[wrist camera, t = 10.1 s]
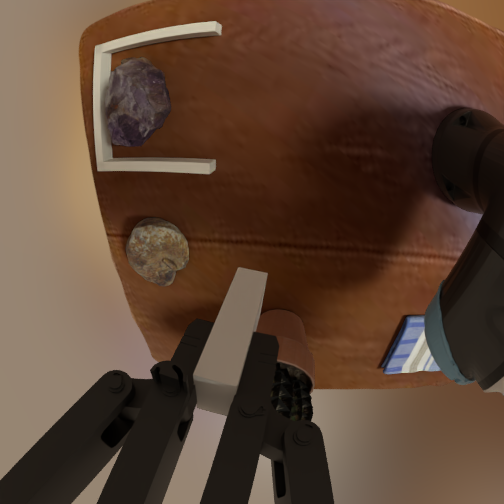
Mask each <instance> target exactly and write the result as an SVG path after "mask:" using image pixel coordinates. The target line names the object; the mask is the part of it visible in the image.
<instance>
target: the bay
mask: <svg viewBox="0 0 504 504" xmlns="http://www.w3.org/2000/svg"><path fill="white" fill-rule="evenodd" d="M221 29H222V26H221V25H220V24H219V23H218V22H216V21H212V22H202V23H193V24H186V25H179V26H173V27H167V28H162V29H157V30H152V31H147V32H143V33H139V34H135V35H131V36H127V37H124V38H120V39H117V40H113V41H110V42H107V43H104V44H101V45H98V46H95V55H94V74H93V116H94V136H95V150H96V161H97V170H98V171H154V172H180V173H198V174H211V173H212V172H213V171H215V170H216V160H215V159H196V158H154V157H144V158H113V157H112V144H111V137H110V131H109V129H108V126H107V125H108V121H107V118H106V112H105V105H104V104H105V98H106V91H107V89H109V77H110V70H111V53H115V52H119V51H122V50H126V49H131V48H135V47H139V46H144V45H149V44H154V43H159V42H165V41H171V40H178V39H185V38H194V37H204V36H217V35H221Z"/></svg>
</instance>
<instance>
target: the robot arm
mask: <svg viewBox="0 0 504 504" xmlns="http://www.w3.org/2000/svg"><path fill="white" fill-rule="evenodd" d="M432 165H433V171H434V175H435V178H436V181H437V183H438V185H439V187H440V189H441V190H442V192H443V193H444V195H445V196H446V197H447V198H448V199H449V200H451V201H452V202H453V203H454V204H455V205H457V206H458V207H460V208H461V209H463V210H466V211H469V212H473V213H478V214H483V216H482V218H481V220H480V222H479V224H478V226H477V228H476V229H475V231H474V233H473V235H472V237H471V239H470V240H469V242H468V244H467V246H466V247H465V249H464V251H463V253H462V254H461V256H460V257H459V259H458V261H457V262H456V264H455V266H454V267H453V269H452V270H451V272H450V273H449V275H448V276H447V278H446V279H445V280H443V281H442V282H441V284H440V286H439V289H438V292H437V293H436V295H435V296H434V298H433V299H432V301H431V302H430V304H429V305H428V307H427V310H426V312H425V316H424V325H425V329H424V332H425V337H426V341H427V345H428V347H429V350H430V352H431V355H432V357H433V358H434V360H435V362H436V364H437V365H438V367H439V368H440V369H441V371H442V372H443V373H444V374H445V375H446V376H447V377H448V378H449V379H450V380H455V382H456V383H458V384H460V385H466V384H469V383H472V382H474V381H475V380H476V381H477V382H478V384H479V385H480V387H481V388H482V389H483V391H484V392H501V393H502V394H503V396H504V125H503V124H502V123H500V122H499V121H498V120H497V119H496V118H494V117H493V116H492V115H490V114H488V113H486V112H484V111H481V110H477V109H471V108H463V109H459V110H456V111H454V112H452V113H451V114H449V115H448V116H447V117H446V118H445V119H444V120H443V122H442V123H441V124H440V126H439V128H438V130H437V132H436V135H435V138H434V142H433V148H432ZM267 275H268V273H265V272H260V271H255V270H250V269H245V268H241V267H238V269H237V272H236V274H235V276H234V279H233V281H232V283H231V286H230V288H229V290H228V293H227V295H226V297H225V300H224V302H223V305H222V307H221V309H220V312H219V314H218V316H217V319H216V321H215V323H213V322H209V321H205V320H201V319H196V320H195V321H193V322H192V323H191V324H190V325H188V327H187V329H186V331H185V333H184V336H183V337H182V339H181V341H180V344H179V345H178V347H177V349H176V351H175V353H174V355H173V357H172V359H171V361H162V362H159V363H157V364H155V365H154V366H153V367H152V369H151V370H150V371H151V374H152V377H153V379H134V378H130V376H129V375H128V374H127V373H125V372H123V371H120V370H113V371H109V372H107V373H106V374H104V375H103V376H102V377H101V378H100V379H99V380H98V381H97V382H96V383H95V384H94V385H93V386H92V387H91V388H90V389H89V390H88V391H87V392H86V393H85V394H84V395H83V396H82V397H81V398H80V399H79V400H78V401H77V402H76V403H75V404H74V405H73V406H72V407H71V408H70V409H69V410H68V411H67V412H66V413H65V414H64V415H63V416H62V417H61V418H60V419H59V420H58V421H57V422H56V423H55V424H54V425H53V426H52V427H51V428H50V429H49V430H48V432H46V433H45V435H44V436H43V437H42V438H41V439H39V441H38V442H37V443H36V444H35V445H34V446H33V447H32V448H31V449H30V450H29V451H28V452H27V453H26V454H25V455H24V456H23V457H22V458H21V459H20V460H19V461H18V463H16V465H14V467H13V468H12V469H11V470H10V471H9V472H8V473H7V474H6V475H5V476H4V477H3V478H2V479H1V480H0V504H71V503H72V502H73V501H74V500H75V499H76V497H78V495H79V494H80V493H81V492H82V491H83V490H84V489H85V488H86V487H87V485H88V484H89V483H90V482H91V481H92V480H93V479H94V478H95V477H96V475H97V474H98V473H99V472H100V471H101V470H102V469H103V467H104V466H105V465H106V464H107V463H108V462H109V461H110V460H111V458H112V457H113V456H114V455H115V454H116V452H118V450H119V449H120V448H121V447H122V446H123V447H122V449H121V451H120V453H119V455H118V457H117V460H116V462H115V464H114V466H113V468H112V471H111V473H110V475H109V477H108V479H107V482H106V484H105V486H104V488H103V491H102V493H101V495H100V497H99V500H98V502H97V504H162V502H163V499H164V497H165V494H166V491H167V488H168V485H169V483H170V480H171V478H172V475H173V472H174V470H175V467H176V464H177V461H178V459H179V456H180V453H181V451H182V448H183V445H184V443H185V440H186V437H187V435H188V432H189V429H190V426H191V423H192V421H193V411H194V409H195V406H196V404H197V408H199V409H203V410H206V411H210V412H214V413H218V414H222V415H225V416H227V419H226V422H225V425H224V429H223V432H222V435H221V438H220V442H219V445H218V449H217V451H216V455H215V458H214V461H213V464H212V467H211V471H210V474H209V477H208V480H207V483H206V486H205V489H204V492H203V495H202V499H201V502H200V504H248V500H249V497H250V493H251V489H252V485H253V481H254V477H255V473H256V468H257V464H258V460H259V455H260V454H261V455H263V456H265V457H267V458H269V459H271V466H272V477H273V489H274V501H275V504H334V499H333V493H332V487H331V481H330V475H329V469H328V463H327V458H326V452H325V446H324V441H323V436H322V432H321V430H320V428H319V427H318V426H317V425H316V424H315V423H313V422H311V421H309V420H298V421H293V420H291V419H289V418H287V417H285V416H283V415H281V414H280V413H278V412H277V411H276V410H275V409H274V407H273V405H272V403H271V391H272V385H273V380H274V375H275V369H276V363H277V357H278V352H279V343H278V340H277V337H276V336H274V335H269V334H264V333H259V332H256V329H257V325H258V321H259V317H260V313H261V308H262V302H263V297H264V291H265V286H266V280H267Z"/></svg>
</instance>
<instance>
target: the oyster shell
mask: <svg viewBox="0 0 504 504" xmlns="http://www.w3.org/2000/svg"><path fill="white" fill-rule="evenodd" d="M126 254H127V257H128V260H129V264H130V266H132V268H133V269H134V270H135V271H136V272H137V273H138V274H140V275H141V276H142V277H143V278H144V279H145V280H147V281H150V282H154V283H156V284H158V285H159V286H168V285H170V284H171V283H172V282H173V281H174V278H175V275H176V271H177V270H180V269H183V268H185V267H186V264H187V263H188V260H189V248H188V243H187V241H186V238H185V237H184V235H183V234H182V233H181V232H180V231H179V229H178V228H177V227H176V226H175V225H173V224H171V223H170V222H168V221H165V220H163V219H161V218H158V217H157V218H156V217H152V218H146V219H143V220H142V221H140V222H139V223H138V224H137V225H136V226H135V227H134V230H133V231H132V233H131V235H130V237H129V239H128V241H127V244H126Z"/></svg>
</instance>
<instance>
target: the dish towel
mask: <svg viewBox="0 0 504 504" xmlns="http://www.w3.org/2000/svg"><path fill="white" fill-rule="evenodd" d="M424 316H425V315H411V316H407V317H406V319H405V321H404V323H403V325H402V328H401V330H400V332H399V334H398V336H397V337H396V339H395V341H394V343H393V345H392V347H391V348H390V351H389V353H388V355H387V357H386V359H385V361H384V362H383V364H382V366H381V367H385V368H384V370H383V373H385V374H396V373H412V372H417V371H422V370H425V371H439V370H441V369H440V368H439V367H438V365H437V364H436V362H435V360H434V358H433V357H432V355H431V352H430V350H429V347H428V345H427V341H426V337H425V332H424V329H425V325H424Z"/></svg>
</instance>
